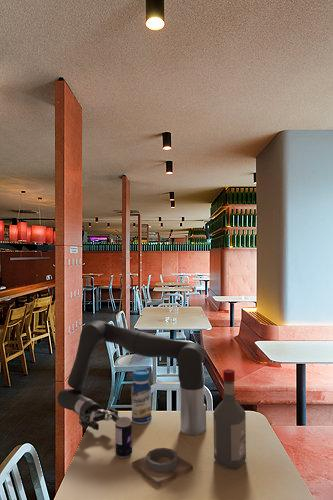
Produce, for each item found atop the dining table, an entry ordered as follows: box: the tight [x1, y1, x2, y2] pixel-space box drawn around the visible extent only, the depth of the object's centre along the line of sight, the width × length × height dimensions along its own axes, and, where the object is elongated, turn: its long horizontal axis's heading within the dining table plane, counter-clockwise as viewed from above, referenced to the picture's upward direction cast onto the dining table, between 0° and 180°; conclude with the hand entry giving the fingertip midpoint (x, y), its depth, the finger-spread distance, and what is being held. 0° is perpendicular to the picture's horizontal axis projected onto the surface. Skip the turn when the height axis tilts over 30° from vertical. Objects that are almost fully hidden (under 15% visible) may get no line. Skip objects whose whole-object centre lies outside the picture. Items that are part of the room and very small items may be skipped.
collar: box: [145, 447, 179, 473], centre depth 127 cm, size 10×10×2 cm
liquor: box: [213, 368, 247, 470], centre depth 130 cm, size 9×9×30 cm
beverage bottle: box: [130, 369, 153, 425], centre depth 162 cm, size 8×8×20 cm
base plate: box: [131, 455, 194, 488], centre depth 127 cm, size 14×14×2 cm
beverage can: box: [114, 416, 133, 459], centre depth 135 cm, size 6×6×12 cm
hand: (108, 423), depth 144 cm, fingers open, 8 cm apart
